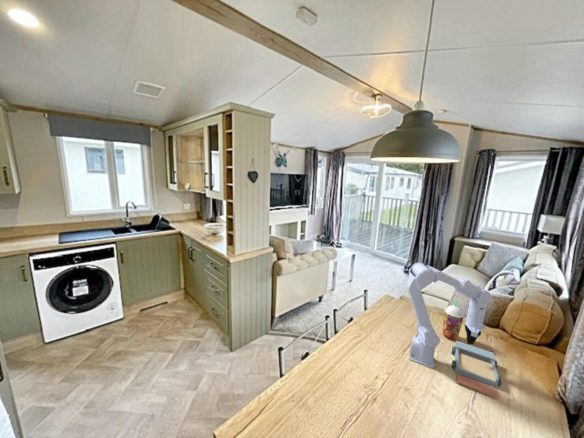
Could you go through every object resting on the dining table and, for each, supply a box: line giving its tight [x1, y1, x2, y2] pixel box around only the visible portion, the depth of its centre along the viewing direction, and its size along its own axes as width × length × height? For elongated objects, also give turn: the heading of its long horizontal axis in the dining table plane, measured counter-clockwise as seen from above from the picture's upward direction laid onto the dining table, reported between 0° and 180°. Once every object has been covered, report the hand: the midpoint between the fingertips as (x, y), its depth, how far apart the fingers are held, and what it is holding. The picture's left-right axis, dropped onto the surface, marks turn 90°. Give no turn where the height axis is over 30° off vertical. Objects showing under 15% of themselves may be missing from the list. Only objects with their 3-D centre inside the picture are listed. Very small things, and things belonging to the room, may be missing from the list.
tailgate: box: [456, 373, 499, 399], centre depth 101 cm, size 13×1×6 cm
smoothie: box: [442, 300, 465, 341], centre depth 130 cm, size 8×8×20 cm
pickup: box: [451, 340, 502, 389], centre depth 111 cm, size 16×17×5 cm
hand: (469, 343), depth 111 cm, fingers closed
